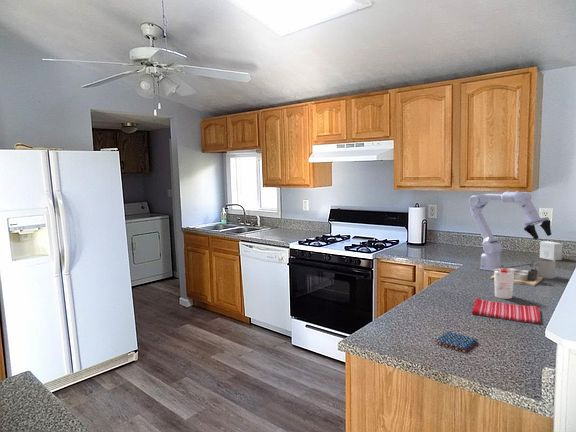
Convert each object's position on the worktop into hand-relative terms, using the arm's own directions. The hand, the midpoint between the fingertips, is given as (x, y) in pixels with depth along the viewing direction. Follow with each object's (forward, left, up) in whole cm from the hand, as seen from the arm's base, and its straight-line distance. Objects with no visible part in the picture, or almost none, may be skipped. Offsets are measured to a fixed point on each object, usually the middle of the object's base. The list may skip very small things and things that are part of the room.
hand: (543, 237), depth 199 cm
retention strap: (-10, -7, -17) cm, 21 cm away
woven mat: (-2, -103, -23) cm, 106 cm away
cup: (-1, +7, -22) cm, 23 cm away
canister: (-6, -41, -22) cm, 47 cm away
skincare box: (-8, +57, -22) cm, 62 cm away
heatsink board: (-10, -7, -22) cm, 25 cm away
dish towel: (+1, -62, -23) cm, 66 cm away
